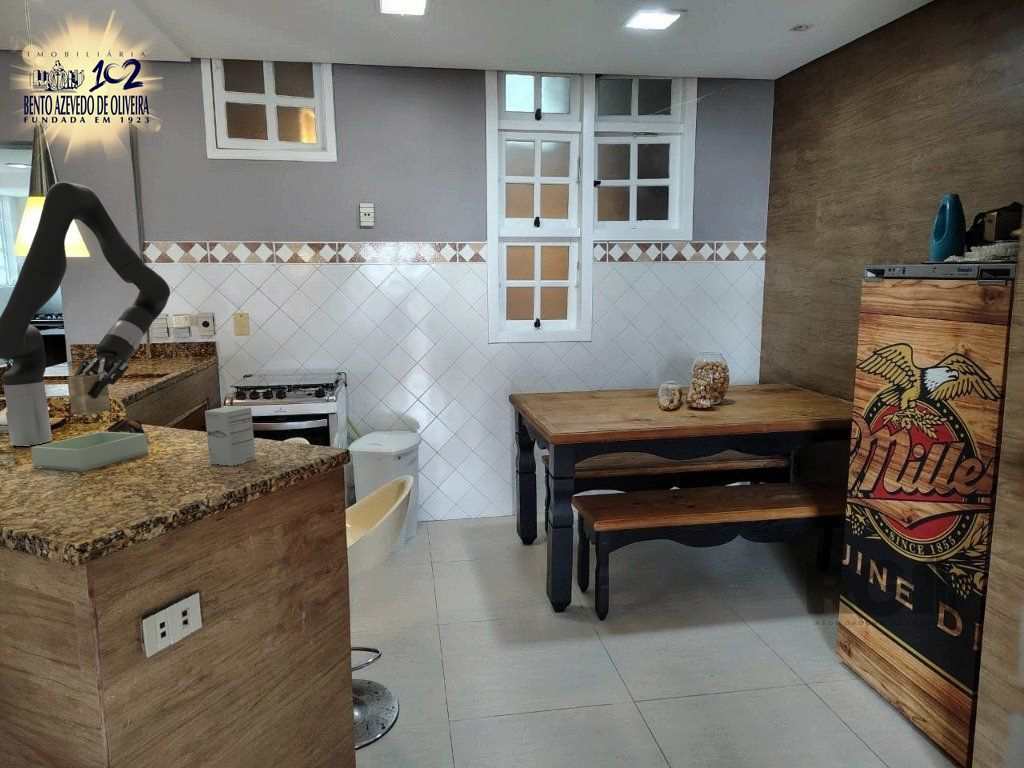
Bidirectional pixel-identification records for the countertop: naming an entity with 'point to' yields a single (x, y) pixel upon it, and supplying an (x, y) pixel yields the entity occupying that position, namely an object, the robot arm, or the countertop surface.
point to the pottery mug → (127, 426)
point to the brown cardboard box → (86, 395)
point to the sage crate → (89, 451)
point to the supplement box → (230, 435)
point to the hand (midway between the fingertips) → (82, 396)
